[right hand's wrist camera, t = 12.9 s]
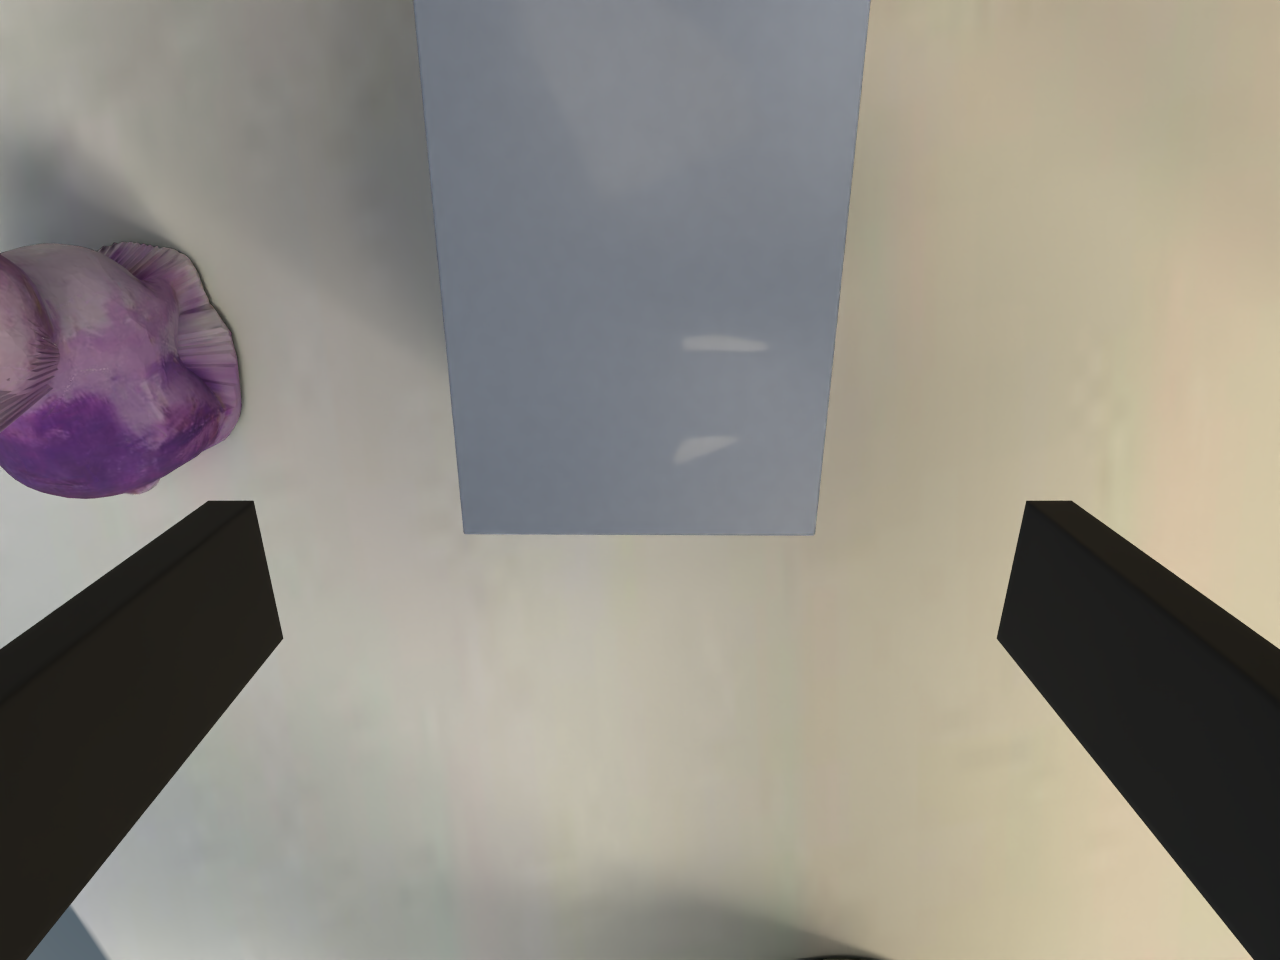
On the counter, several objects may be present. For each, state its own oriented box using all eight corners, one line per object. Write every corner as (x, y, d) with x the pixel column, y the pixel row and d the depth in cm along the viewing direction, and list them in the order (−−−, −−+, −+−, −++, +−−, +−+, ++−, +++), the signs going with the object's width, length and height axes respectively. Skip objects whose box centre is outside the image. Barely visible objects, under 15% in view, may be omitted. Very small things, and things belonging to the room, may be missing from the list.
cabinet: (493, 13, 27) (402, -97, 17) (789, 15, 27) (881, -95, 17) (518, 429, 33) (463, 535, 23) (761, 430, 33) (815, 536, 23)
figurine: (125, 174, 29) (-349, 156, 15) (306, 377, 32) (51, 519, 18) (-21, 310, 31) (-559, 405, 17) (162, 489, 34) (-167, 694, 20)
